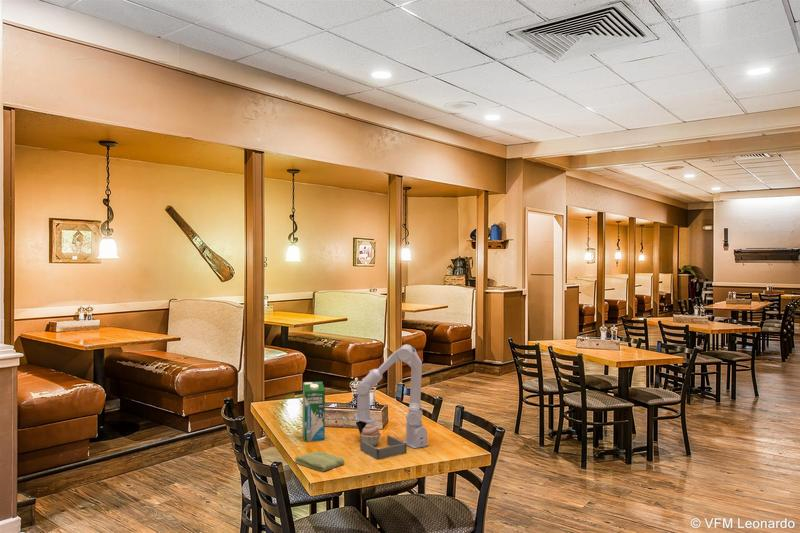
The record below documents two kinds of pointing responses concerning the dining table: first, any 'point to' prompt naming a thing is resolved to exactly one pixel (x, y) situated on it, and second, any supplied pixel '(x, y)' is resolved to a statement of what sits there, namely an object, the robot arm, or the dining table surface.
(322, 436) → the milk carton
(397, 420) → the dining table surface
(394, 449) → the box
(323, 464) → the washcloth
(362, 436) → the cupcake
